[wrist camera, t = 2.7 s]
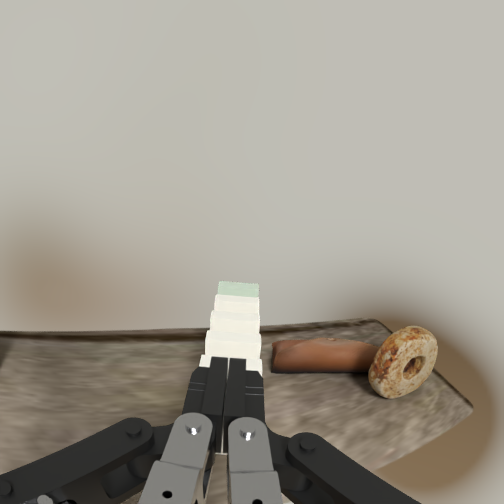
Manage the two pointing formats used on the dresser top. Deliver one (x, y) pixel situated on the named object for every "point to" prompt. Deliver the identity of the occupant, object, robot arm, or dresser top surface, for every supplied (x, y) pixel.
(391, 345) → the stone disc
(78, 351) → the dresser top surface
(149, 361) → the dresser top surface
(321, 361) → the sunglasses case
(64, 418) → the dresser top surface
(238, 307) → the domino
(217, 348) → the domino
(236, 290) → the domino
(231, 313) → the domino
